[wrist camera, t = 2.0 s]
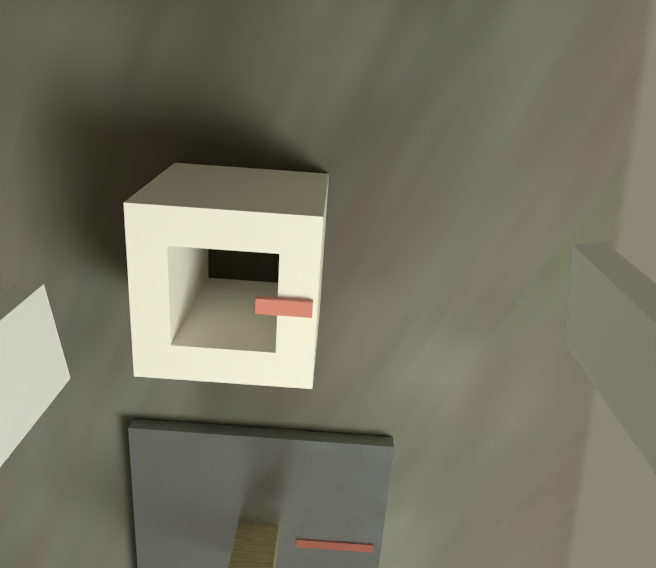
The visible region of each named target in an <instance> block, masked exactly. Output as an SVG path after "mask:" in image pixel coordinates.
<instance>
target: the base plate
mask: <svg viewBox="0 0 656 568" xmlns="http://www.w3.org/2000/svg"><path fill="white" fill-rule="evenodd" d="M128 433H129V448H130V463H131V478H132V492H133V507H134V522H135V537H136V551H137V566H138V568H378V567H379V559H380V551H381V543H382V535H383V528H384V520H385V512H386V504H387V496H388V489H389V481H390V473H391V465H392V457H393V450H394V444H393V437H387V436H373V435H359V434H345V433H331V432H317V431H303V430H289V429H275V428H261V427H247V426H233V425H219V424H205V423H191V422H177V421H163V420H149V419H135V418H133V420H132V422H131V424H130V426H129V427H128Z"/></svg>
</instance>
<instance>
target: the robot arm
mask: <svg viewBox="0 0 656 568" xmlns="http://www.w3.org/2000/svg"><path fill="white" fill-rule="evenodd" d="M566 346H567V348H568V349H569V351H570V352H571V353H572V355H573V356H574V358H575V359H576V361H577V362H578V363H579V365H580V366H581V368H582V369H583V371H584V372H585V374H586V375H587V376H588V378H589V379H590V381H591V382H592V384H593V385H594V387H595V388H596V389H597V391H598V392H599V394H600V395H601V397H602V398H603V400H604V401H605V402H606V404H607V405H608V407H609V408H610V410H611V411H612V412H613V414H614V415H615V417H616V418H617V420H618V421H619V422H620V424H621V425H622V427H623V428H624V430H625V431H626V433H627V434H628V436H629V437H630V438H631V440H632V441H633V443H634V444H635V446H636V447H637V448H638V450H639V451H640V453H641V454H642V456H643V457H644V459H645V460H646V462H647V463H648V464H649V466H650V467H651V469H652V470H653V471H654V473H655V474H656V283H654V282H653V281H652V280H651V279H650V278H648V277H647V276H646V275H645V274H643V273H642V272H641V271H640V270H639V269H637V268H636V267H635V266H634V265H633V264H631V263H630V262H629V261H628V260H626V259H625V258H624V257H623V256H622V255H620V254H619V253H618V252H617V251H616V250H614V249H613V248H612V247H611V246H609V245H608V244H607V243H606V242H597V243H583V244H572V260H571V277H570V293H569V309H568V326H567V342H566ZM69 379H70V375H69V372H68V368H67V365H66V361H65V357H64V354H63V350H62V347H61V343H60V340H59V336H58V333H57V329H56V326H55V322H54V319H53V315H52V311H51V308H50V304H49V301H48V297H47V294H46V290H45V287H44V284H36V285H23V286H14V287H13V288H11V289H10V290H9V291H8V292H6V293H5V294H4V295H2V296H1V297H0V467H1V465H2V464H3V463H4V462H5V460H6V459H7V458H8V457H9V455H10V454H11V453H12V452H13V450H14V449H15V448H16V446H17V445H18V444H19V443H20V441H21V440H22V439H23V438H24V436H25V435H26V434H27V433H28V431H29V430H30V429H31V428H32V426H33V425H34V424H35V422H36V421H37V420H38V419H39V417H40V416H41V415H42V414H43V412H44V411H45V410H46V409H47V407H48V406H49V405H50V403H51V402H52V401H53V400H54V398H55V397H56V396H57V395H58V393H59V392H60V391H61V390H62V388H63V387H64V386H65V385H66V383H67V382H68V381H69Z"/></svg>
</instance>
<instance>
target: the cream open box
mask: <svg viewBox="0 0 656 568" xmlns="http://www.w3.org/2000/svg"><path fill="white" fill-rule="evenodd" d="M328 178H329V174H326V173H312V172H298V171H284V170H270V169H256V168H242V167H228V166H214V165H199V164H185V163H174V164H172V165H171V166H170V167H169V168H167V169H166V170H165V171H163V172H162V173H161V174H160V175H158V176H157V177H156V178H154V179H153V180H152V181H151V182H149V183H148V184H147V185H145V186H144V187H143V188H142V189H140V190H139V191H138V192H136V193H135V194H134V195H133V196H131V197H130V198H129V199H127V200H126V201H125V202H124V219H125V236H126V252H127V268H128V285H129V301H130V317H131V334H132V350H133V366H134V376H137V377H151V378H165V379H179V380H194V381H208V382H222V383H236V384H250V385H264V386H278V387H292V388H306V389H312V387H313V376H314V366H315V355H316V345H317V334H318V324H319V313H320V298H321V283H322V268H323V253H324V238H325V223H326V208H327V193H328ZM208 249H218V250H232V251H246V252H260V253H274V254H279V278H278V283H275V282H261V281H247V280H233V279H219V278H208Z"/></svg>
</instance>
